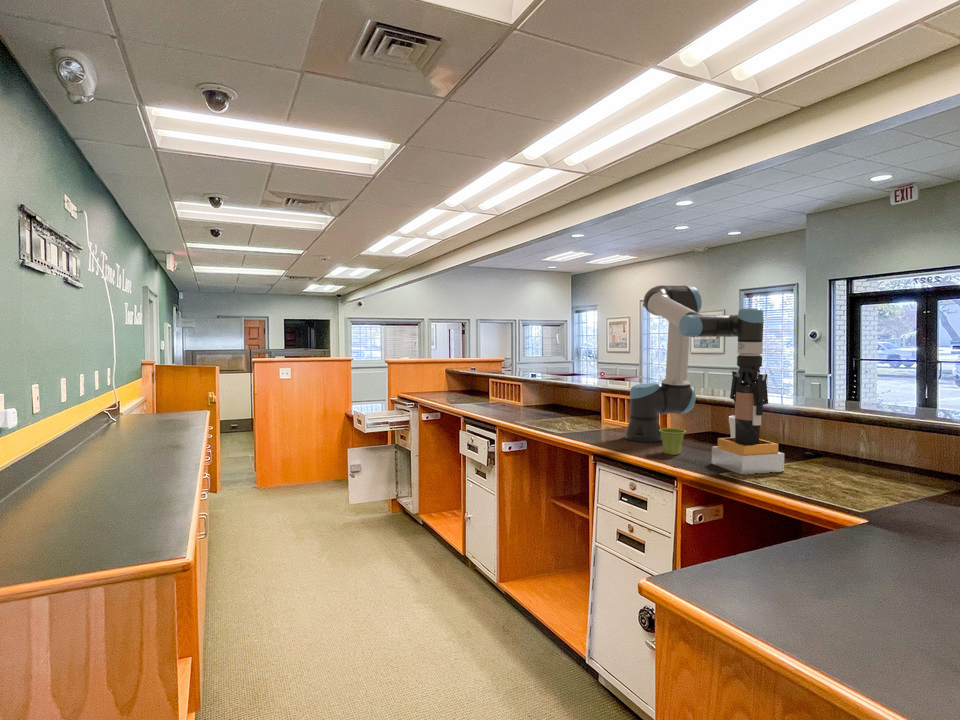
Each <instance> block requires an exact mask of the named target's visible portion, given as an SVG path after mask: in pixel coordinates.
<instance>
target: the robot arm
mask: <svg viewBox="0 0 960 720" xmlns="http://www.w3.org/2000/svg"><path fill="white" fill-rule="evenodd" d="M702 304H703V301H702V295H701V294H700V291H699V290H698V288H697V287H695V286H691V285H656V286H654V287H652V288H650V289H649V290H648V291H647V292H646V293H645V295H644V297H643V306H644V309H646V311H647V312H649V314H652V315H653V316H656V317H657V316H660V317H661V318H663V319H665V320H666V321H667V322H668V329H667V330H668V331H667V345H666V348H667V349H666V364H665V378H664V379H663V380H661V386H660V385H659V383H657V382H649V383H647V382H646V383H639V384H635V385H633V386H631V387H630V390H629V391H630V392H629V422H628V424H627V427H626V430H625V434H624V435H625V436H624V437H625V439H626V440H629V441H632V442H642V443H655V442H656V443H657V442H662V436H661V433H660V431H659V430H660V429H662V428H661V426H660V423H659V415H664V414H665V415H666V414H667V415H669V414H676V415H680V414H687V413H689V412H691V411H692V409H693V408H694V407H695V404H696V398H697V395H696V393H695V392H696V390H695V389H694V387H693V386H691V382H690V380H689V379H688V366H689V350H690V339H691V338H695V337H696V338H697V337H698V338H699V337H700V338H704V337H708V338H709V337H714V338H715V337H717V338H718V337H720V338H722V337H723V338H724V337H725V338H727V337H729V338H735V337H736V338H737V352H736V353H737V354H738V355H737V357H736V365H737V367H739V368H738V370H733V371H731V374H732V375H731V376H732V380H731V385H730V386H731V387H730V394H729V398H730V400H732V401H733V402H734V411H735V410H736V385H743V386H745V385H748V384H749V386H758V388H754V387H753V398H754V402H755V404H753V423H752V425H760V426H762V416H763V413H764V412H763V407H764V406H765V405H768V404H769V396H768V385H767V384H768V383H767V380H768V374H767V373H762V372H761V370H760V368H762V367H763V356H762V354H763V349H764V348H763V347H764V346H763V339H764V321H765V320H764V310H763V309H762V308H756V307H755V308H754V307H753V308H750V307H749V308H748V307H747V308H740V309H739V310H738V314H717V315H716V314H701V313H700V311H701V309H702ZM758 401H759V402H758Z"/></svg>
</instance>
